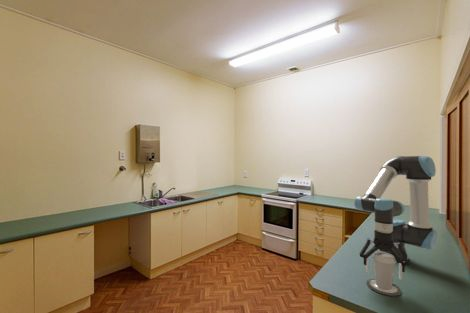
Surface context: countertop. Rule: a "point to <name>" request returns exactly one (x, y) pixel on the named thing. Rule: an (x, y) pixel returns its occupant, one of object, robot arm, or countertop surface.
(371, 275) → the countertop surface
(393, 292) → the plate
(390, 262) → the coffee cup
